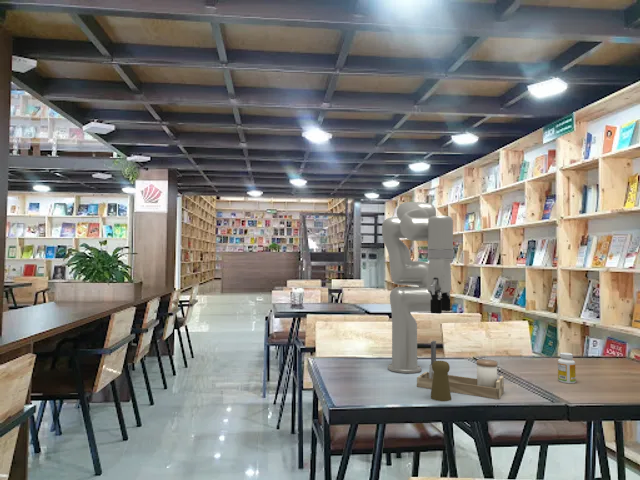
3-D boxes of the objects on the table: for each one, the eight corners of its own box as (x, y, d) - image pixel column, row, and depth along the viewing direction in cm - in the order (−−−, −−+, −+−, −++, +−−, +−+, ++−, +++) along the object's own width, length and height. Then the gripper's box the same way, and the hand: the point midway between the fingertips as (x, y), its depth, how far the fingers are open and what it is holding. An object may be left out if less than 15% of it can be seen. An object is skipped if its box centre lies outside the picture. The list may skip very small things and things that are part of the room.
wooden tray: (425, 380, 154) (425, 365, 154) (503, 392, 141) (503, 376, 141) (416, 386, 146) (417, 371, 147) (499, 399, 133) (498, 382, 134)
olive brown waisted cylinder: (427, 395, 137) (427, 359, 137) (446, 395, 137) (446, 359, 138) (434, 401, 131) (434, 363, 131) (454, 401, 131) (454, 363, 132)
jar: (478, 389, 144) (478, 358, 144) (499, 392, 140) (498, 360, 141) (474, 394, 138) (474, 361, 139) (495, 397, 135) (495, 364, 136)
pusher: (435, 381, 151) (435, 339, 152) (437, 382, 151) (437, 340, 152) (429, 386, 145) (429, 342, 146) (431, 387, 145) (431, 343, 146)
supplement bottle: (573, 380, 157) (573, 352, 157) (577, 384, 152) (576, 355, 152) (556, 379, 159) (556, 351, 159) (559, 382, 154) (559, 354, 154)
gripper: (436, 256, 146) (436, 309, 144) (419, 255, 131) (419, 313, 130) (459, 256, 142) (460, 310, 141) (445, 255, 127) (445, 315, 126)
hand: (440, 312), depth 135 cm, fingers open, 9 cm apart
